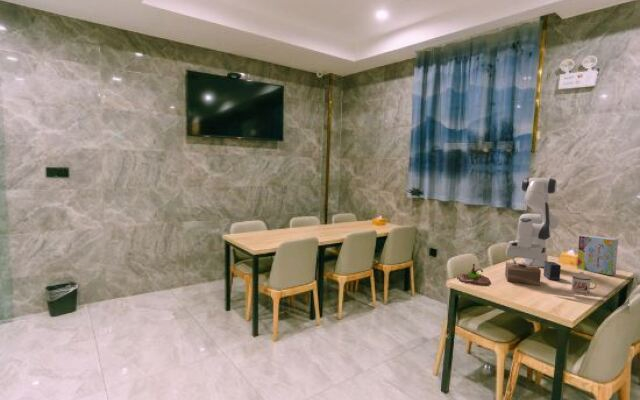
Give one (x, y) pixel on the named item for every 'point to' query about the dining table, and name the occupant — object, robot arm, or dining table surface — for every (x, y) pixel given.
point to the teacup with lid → (581, 283)
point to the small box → (552, 270)
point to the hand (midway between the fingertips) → (522, 264)
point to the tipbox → (523, 273)
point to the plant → (474, 278)
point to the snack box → (597, 254)
